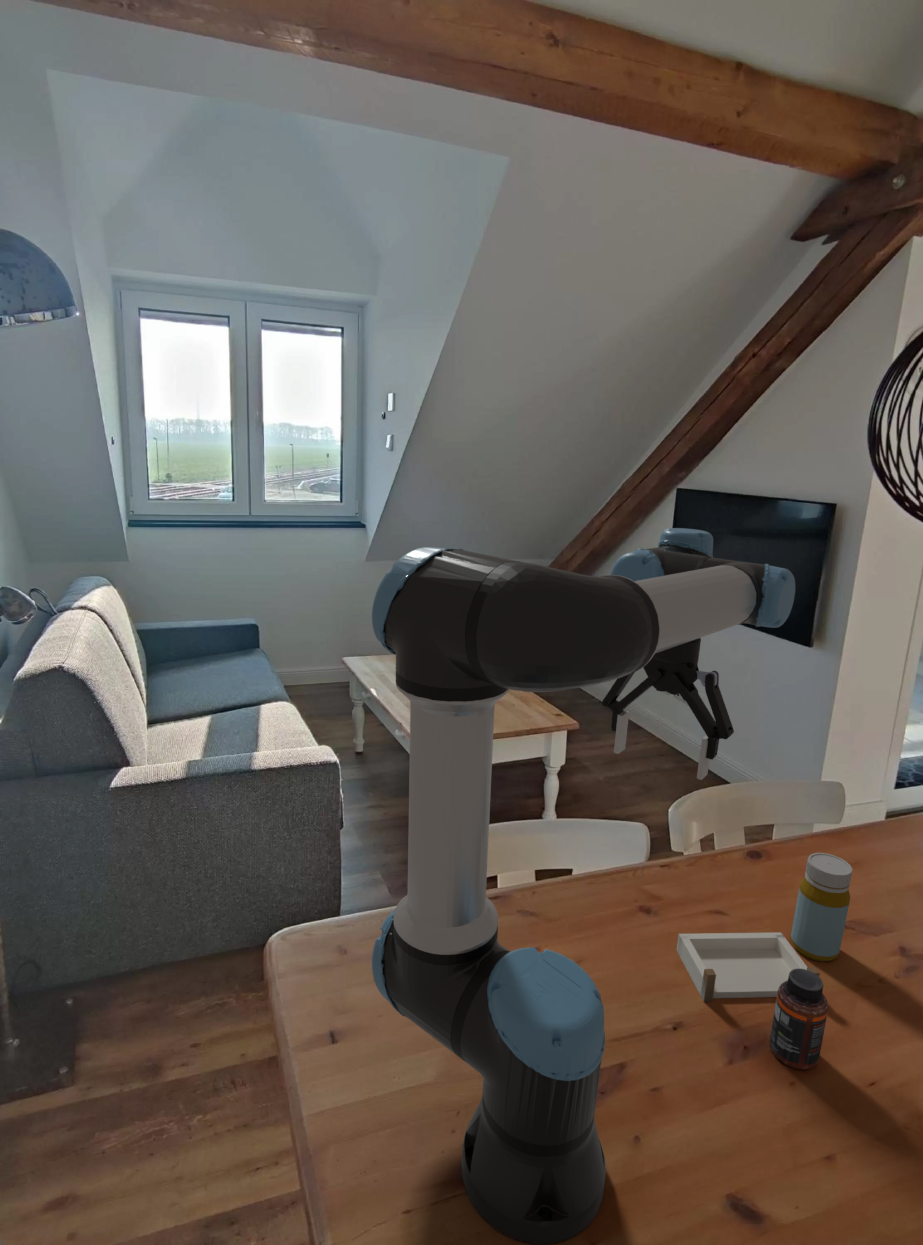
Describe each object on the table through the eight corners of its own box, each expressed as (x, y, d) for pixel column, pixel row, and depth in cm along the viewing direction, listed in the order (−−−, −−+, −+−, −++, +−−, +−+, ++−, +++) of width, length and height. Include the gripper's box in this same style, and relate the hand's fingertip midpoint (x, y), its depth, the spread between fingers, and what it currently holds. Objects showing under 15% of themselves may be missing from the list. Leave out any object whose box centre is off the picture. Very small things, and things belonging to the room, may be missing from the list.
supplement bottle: (821, 1048, 96) (836, 975, 94) (814, 1080, 91) (830, 1003, 89) (772, 1028, 99) (785, 956, 97) (764, 1057, 94) (777, 982, 92)
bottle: (780, 939, 117) (794, 855, 114) (812, 930, 120) (827, 847, 117) (815, 968, 111) (832, 880, 108) (848, 957, 114) (866, 871, 110)
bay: (814, 999, 105) (819, 973, 104) (703, 1001, 103) (707, 975, 102) (778, 949, 115) (782, 924, 114) (676, 950, 114) (679, 925, 113)
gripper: (768, 644, 106) (747, 779, 111) (610, 613, 120) (598, 734, 125) (753, 655, 100) (732, 797, 105) (589, 621, 114) (577, 748, 120)
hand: (659, 763), depth 115 cm, fingers open, 13 cm apart
